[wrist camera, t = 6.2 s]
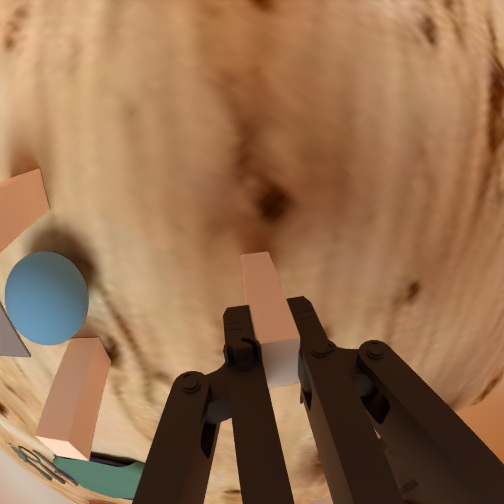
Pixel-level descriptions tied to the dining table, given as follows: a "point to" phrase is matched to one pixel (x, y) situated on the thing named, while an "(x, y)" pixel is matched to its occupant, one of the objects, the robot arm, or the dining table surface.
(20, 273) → the ball
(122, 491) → the cutlery set
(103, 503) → the canned food
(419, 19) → the dining table surface
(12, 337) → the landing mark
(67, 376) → the gate post
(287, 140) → the dining table surface
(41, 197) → the gate post
